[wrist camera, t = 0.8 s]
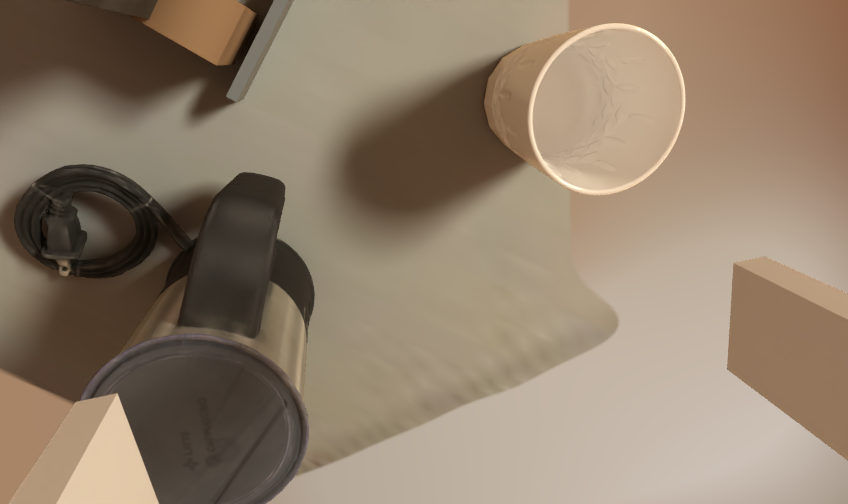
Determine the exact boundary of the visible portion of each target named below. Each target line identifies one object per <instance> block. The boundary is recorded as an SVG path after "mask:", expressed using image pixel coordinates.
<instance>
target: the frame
mask: <svg viewBox="0 0 848 504" xmlns="http://www.w3.org/2000/svg"><path fill="white" fill-rule="evenodd" d="M293 1H294V0H274V1H273V3H272V5H271V7H270V9H269V11H268V13H267V15H266V17H265V19H264V21H263V23H262V25H261V27H260V29H259V31H258V33H257V35H256V37H255V39H254V41H253V43H252V45H251V47H250V49H249V51H248V53H247V55H246V57H245V59H244V61H243V63H242V65H241V67H240V69H239V71H238V73H237V75H236V77H235V79H234V81H233V83H232V85H231V87H230V89H229V91H228V93H227V95H226V97H228V98H230V99H231V100H233V101H235V102H238V101H240V100H242V99H244V97H245V95H246V93H247V91H248V89H249V87H250V85H251V83H252V81H253V79H254V77H255V75H256V73H257V71H258V69H259V68H260V66H261V64H262V62H263V60H264V58H265V56H266V54H267V52H268V50H269V48H270V46H271V44H272V42H273V40H274V38H275V36H276V34H277V32H278V30H279V28H280V26H281V24H282V22H283V20H284V18H285V16H286V14H287V12H288V10H289V9H290V7H291V5H292V3H293Z"/></svg>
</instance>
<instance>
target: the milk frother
mask: <svg viewBox="0 0 848 504" xmlns="http://www.w3.org/2000/svg"><path fill="white" fill-rule="evenodd" d="M84 191H91V192H97V193H101V194H104V195H107V196H109V197H111V198H113V199H114V200H116V201H117V202H119V203H120V204H122V205H123V206H124V207H125V208H126V209H127V210H128V211H129V212H130V214H131V215H132V216H133V219H134V221H135V224H136V234H135V236H134V239H133V240H132V241H131V243H130V244H129V245H128V246H127V247H126V248H125V249H123V250H122V251H120V252H119V253H117V254H115V255H113V256H110V257H107V258H102V259H96V260H78V258H79V257H80V255H81V252H82V250H83V247H84V245H85V243H86V240H87V232H86V231H84V230H81V226H80V222H79V219H78V217H77V212H78V210H77V209H76V208H75V207H73V206H71V202H72V194H74V193H77V192H84ZM284 195H285V185H284V183H282V182H281V181H280V180H278V179H275V178H272V177H269V176H265V175H261V174H255V173H247V172H244V173H240V174H239V175H237V176H236V177H235V178H234V179H233V180H232V181H231V182H230V183H229V184H227V185H226V186H225V187H224V188H223V189H222V190H221V191H220V192H219V193H218V194H217V195H216V196H215V198H214V199H213V201H212V203H211V205H210V207H209V209H208V211H207V214H206V216H205V218H204V221H203V224H202V227H201V230H200V233H199V236H198V239H196V240H195V241H193V242H192V241H191V239H190V238H189V237H188V236H187V235H186V234H185V233H184V231H183V230H182V229H181V228H180V227H179V225H178V224H177V223H176V222H175V221H174V220H173V218H172V217H171V216H170V215H169V214H168V213H167V212H166V211H165V210H164V209H163V207H162V206H161V205H160V204H159V203H158V202H157V201H156V200H155V199H154V198H153V197H151V196H150V195H149V194H148V193H147V192H146V191H145V190H144V189H143V188H142V187H141V186H139V185H138V184H137V183H136V182H134V181H133V180H131V179H130V178H128V177H126V176H124V175H122V174H120V173H118V172H116V171H113V170H111V169H108V168H104V167H100V166H95V165H84V164H81V165H69V166H64V167H61V168H58V169H56V170H54V171H51V172H49V173H48V174H46V175H45V176H43V177H41V178H40V179H38V180H37V181H35V183H33V184H32V186H31V187H30V188H29V189H28V190H27V191H26V193H25V194H24V195H23V197H22V198H21V200H20V202H19V203H18V205H17V207H16V212H15V217H14V222H15V229H16V232H17V235H18V237H19V239H20V241H21V243H22V245H23V247H24V248H25V249H26V250H27V251H28V252H29V253H30V254H31V255H32V256H33V257H35V258H36V259H37V260H39V261H40V262H41V263H42V264H44V265H46V266H48V267H49V268H51V269H56V270H59V274H60V275H61V276H68V275H74V276H75V277H86V278H108V277H114V276H118V275H121V274H123V273H124V272H126V271H127V270H130V269H132V268H134V267H136V266H137V265H139V264H140V263H142V262H143V261H144V260H145V259H146V258H147V257H148V256H149V255H150V253H151V251H152V250H153V248H154V246H155V243H156V239H157V235H158V222H157V221H159V222H160V223H161V224H162V225H163V227H164V228H165V229H166V230H167V232H168V233H169V234H170V235H171V237H172V238H173V239H174V240H175V241H176V243H177V244H178V245H179V246H180V247H181V248H182V249H183V251H182V252H181V253H180V254H179V255H178V257H177V258H176V259H175V261H174V262H173V264H172V266H171V268H170V270H169V273H168V275H167V279H166V283H165V287H164V288H163V290H162V292H161V293H160V295H159V296H158V298H157V299H156V301H155V302H154V304H153V305H152V307H151V308H150V310H149V311H148V312H147V314H146V315H145V317H144V318H143V320H142V321H141V322H140V324H139V325H138V327H137V328H136V330H135V331H134V333H133V334H132V335H131V337H130V338H129V340H128V341H127V343H126V344H125V345H124V347H123V348H122V350H121V351H120V353H119V354H118V355H116V356H115V357H114V358H112V359H111V360H110V361H108V362H107V363H106V364H105V365H104V366H103V367H102V368H101V369H100V370H98V371H97V372H96V374H95V375H94V376H93V377H92V379H91V380H90V381H89V383H88V384H87V386H86V387H85V389H84V391H83V393H82V396H81V398H80V401H83V400H88V399H92V398H97V397H102V396H107V395H111V394H116V393H117V394H118V396H119V399H120V402H121V404H122V407H123V410H124V412H125V415H126V418H127V420H128V423H129V426H130V428H131V431H132V434H133V436H134V439H135V442H136V444H137V447H138V450H139V452H140V455H141V457H142V460H143V463H144V465H145V468H146V471H147V473H148V476H149V479H150V481H151V484H152V487H153V489H154V492H155V495H156V497H157V500H158V503H159V504H266V503H267V502H269V501H270V500H272V499H273V498H274V497H275V496H276V495H278V494H279V493H280V492H281V491H282V490H283V489H284V488H285V487H286V485H288V483H289V482H290V481H291V480H292V479H293V478H294V476H295V475H296V474H297V472H298V469H299V468H300V465H301V463H302V460H303V458H304V456H305V453H306V449H307V445H308V438H309V424H308V414H307V411H306V408H305V405H304V402H303V395H304V381H305V368H306V352H307V337H308V325H309V321H310V318H311V314H312V311H313V307H314V286H313V282H312V277H311V275H310V272H309V270H308V268H307V266H306V264H305V263H304V261H303V260H302V259H301V257H300V256H299V255H298V253H297V252H295V251H294V250H293V249H292V248H291V247H290V246H289V245H287V244H286V243H285V242H283V241H282V240H280V239H278V238H277V233H278V229H279V223H280V219H281V215H282V210H283V206H284V201H285V196H284ZM45 210H48V212H46V211H45ZM43 214H45V216H44V222H45V223H46V224H47V225H48V229H47V238H45V237H44V235H43V233H42V215H43Z"/></svg>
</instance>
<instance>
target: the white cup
mask: <svg viewBox="0 0 848 504" xmlns="http://www.w3.org/2000/svg"><path fill="white" fill-rule="evenodd" d="M484 107H485V111H486V115H487V119H488V123H489V127H490V129H491V130H492V131H493V132H494V133H495V134H496V136H497V137H498V138H499V139H500V140H501V142H502V143H503V144H504V145H505V146H507V147H508V148H510V149H511V150H512V151H513V152H514V153H515V154H516V155H518V156H519V157H520V158H522V159H523V160H524V161H526V162H527V163H529V164H530V165H531V166H533V167H534V168H536V169H538V170H539V171H541V172H542V173H544V174H545V175H547V176H548V177H550V178H551V179H553V180H554V181H556V182H557V183H558V184H560V185H562V186H563V187H565V188H567V189H569V190H572V191H575V192H578V193H582V194H587V195H607V194H613V193H616V192H620V191H623V190H626V189H628V188H630V187H632V186H634V185H636V184H638V183H639V182H641V181H642V180H644V179H645V178H646V177H648V176H649V175H650V174H651V173H652V172H653V171H654V170H656V169H657V167H658V166H659V165H660V164H661V163H662V162H663V161H664V159H665V158H666V157H667V155H668V154H669V152H670V151H671V149H672V147H673V145H674V143H675V141H676V139H677V137H678V134H679V132H680V128H681V126H682V122H683V117H684V111H685V87H684V82H683V77H682V73H681V71H680V68H679V65H678V63H677V61H676V59H675V58H674V56H673V55H672V53H671V51H670V50H669V49H668V48H667V46H666V45H665V44H664V43H663V42H662V41H661V40H660V39H659V38H657V37H656V36H655V35H653V34H652V33H650V32H648V31H646V30H644V29H642V28H639V27H636V26H633V25H628V24H620V23H612V24H603V25H598V26H594V27H589V28H585V29H580V30H576V31H571V32H566V33H562V34H558V35H554V36H551V37H548V38H544V39H541V40H538V41H536V42H533V43H529V44H525V45H523V46H521V47H519V48H518V49H516V50H514V51H513V52H511V53H509V54H508V55H506V56H504V57H503V58H502V59H501V61H500V62H499V64H498V65H497V67H496V68H495V70H494V71H493V72H492V74H491V75H490V77H489V78H488V83H487V88H486V94H485V99H484Z"/></svg>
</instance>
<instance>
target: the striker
mask: <svg viewBox="0 0 848 504" xmlns="http://www.w3.org/2000/svg"><path fill="white" fill-rule="evenodd" d="M67 1H72V2H76V3H80V4H85V5H89V6H93V7H98V8H102V9H106V10H111V11H115V12H119V13H124V14H127V15H129V16H131V17H132V18H134V19H136V20H138V21H139V22H141V23H143V24H145V25H146V26H148V27H150V28H152V29H153V30H155V31H157V32H159V33H160V34H162V35H164V36H166V37H167V38H169V39H171V40H173V41H174V42H176V43H178V44H180V45H181V46H183V47H185V48H187V49H188V50H190V51H192V52H194V53H195V54H197V55H199V56H201V57H202V58H204V59H206V60H208V61H209V62H211V63H213V64H215V65H233V64H235V63H236V61H237V58H238V56H239V54H240V52H241V50H242V48H243V46H244V44H245V42H246V40H247V38H248V36H249V34H250V32H251V30H252V28H253V26H254V24H255V22H256V20H257V18H258V16H259V15H257V14H256V13H255V12H253V11H252V10H250V9H249V8H247V7H246V6H244V5H243V4H241V3H240V2H238V1H236V0H67Z"/></svg>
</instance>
